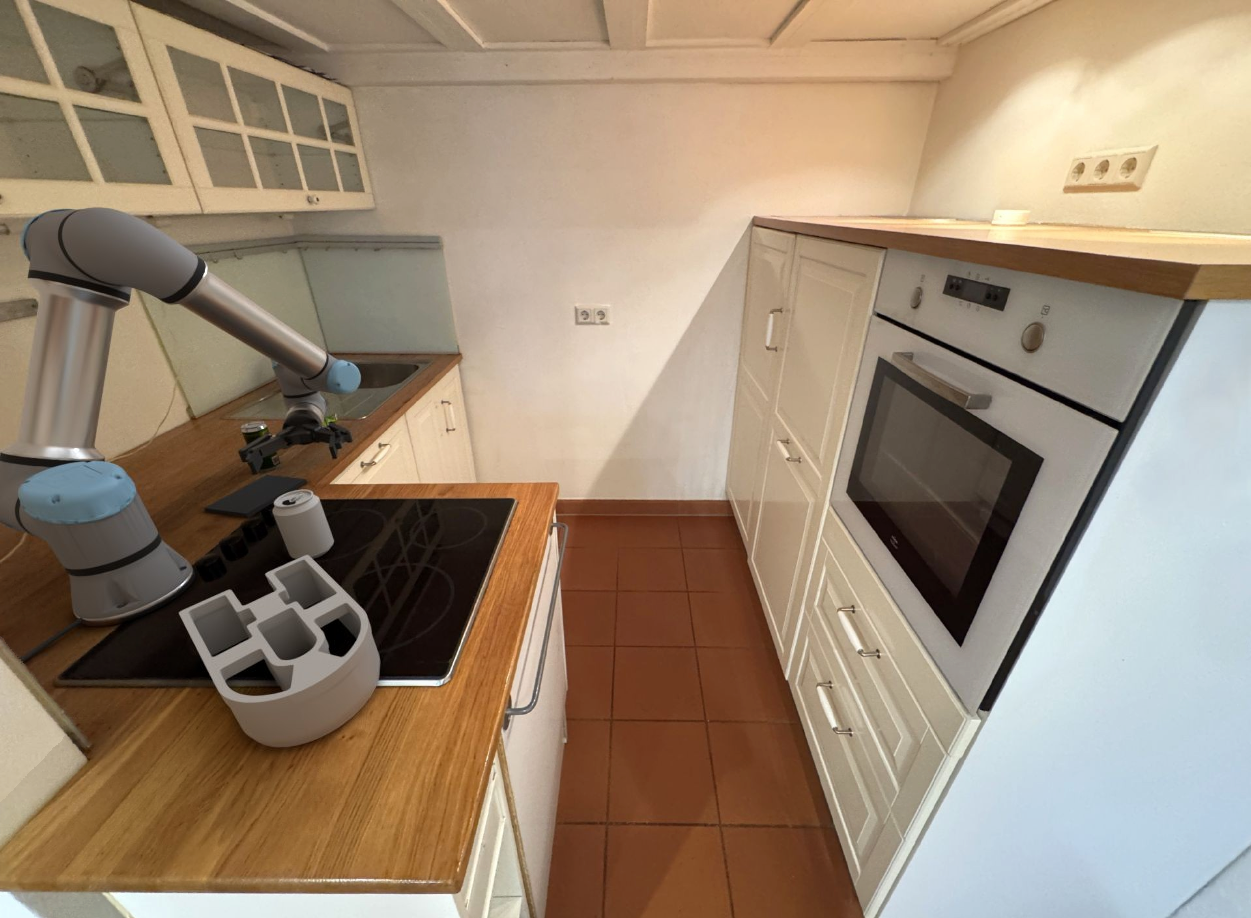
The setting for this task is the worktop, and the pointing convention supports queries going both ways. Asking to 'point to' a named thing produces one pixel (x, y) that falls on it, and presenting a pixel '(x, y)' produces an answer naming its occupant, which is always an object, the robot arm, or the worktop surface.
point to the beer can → (254, 432)
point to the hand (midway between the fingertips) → (293, 460)
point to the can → (302, 524)
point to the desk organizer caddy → (288, 654)
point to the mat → (255, 496)
